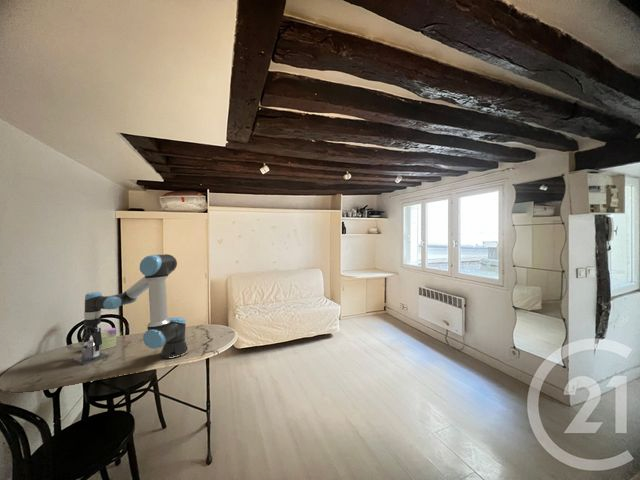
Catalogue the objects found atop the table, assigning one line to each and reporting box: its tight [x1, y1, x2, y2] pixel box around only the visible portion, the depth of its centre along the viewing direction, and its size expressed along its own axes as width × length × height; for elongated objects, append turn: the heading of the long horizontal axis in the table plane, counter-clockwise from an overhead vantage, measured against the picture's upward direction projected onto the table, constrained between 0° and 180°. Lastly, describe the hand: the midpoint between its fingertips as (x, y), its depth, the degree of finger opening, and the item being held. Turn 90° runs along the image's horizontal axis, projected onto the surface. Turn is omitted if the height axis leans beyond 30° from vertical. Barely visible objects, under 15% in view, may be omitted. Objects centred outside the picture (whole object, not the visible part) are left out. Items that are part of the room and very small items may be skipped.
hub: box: [81, 345, 102, 360], centre depth 153 cm, size 8×8×7 cm
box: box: [101, 327, 118, 351], centre depth 170 cm, size 10×6×12 cm, turn 145°
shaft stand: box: [72, 340, 109, 366], centre depth 153 cm, size 12×12×10 cm
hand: (91, 354), depth 153 cm, fingers open, 10 cm apart
